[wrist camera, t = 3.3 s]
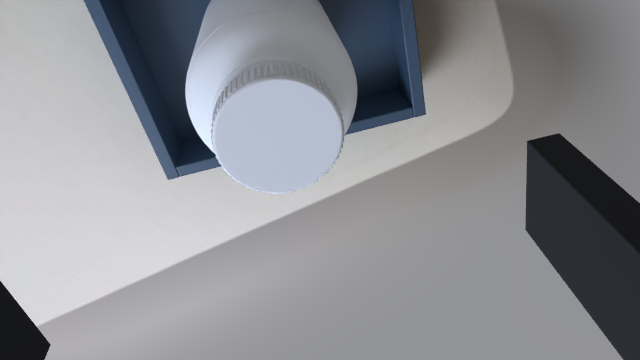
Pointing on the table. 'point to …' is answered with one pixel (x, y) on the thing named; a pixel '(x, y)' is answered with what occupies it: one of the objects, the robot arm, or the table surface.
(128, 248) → the table surface
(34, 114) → the table surface
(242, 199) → the table surface
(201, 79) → the pill bottle
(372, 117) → the bin
